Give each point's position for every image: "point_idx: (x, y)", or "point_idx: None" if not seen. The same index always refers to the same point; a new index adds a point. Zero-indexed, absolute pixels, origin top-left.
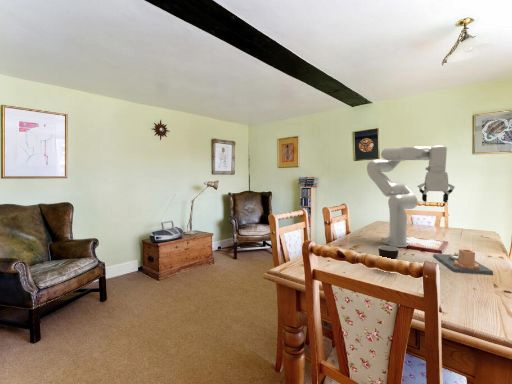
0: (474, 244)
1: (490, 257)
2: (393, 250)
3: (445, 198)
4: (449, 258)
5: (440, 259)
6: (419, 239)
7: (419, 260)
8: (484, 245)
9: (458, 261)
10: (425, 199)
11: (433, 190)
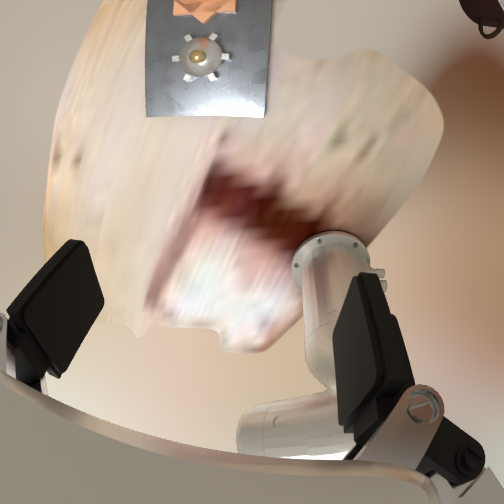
0: None
1: (78, 147)
2: (495, 6)
3: (58, 281)
4: (229, 53)
5: (268, 48)
6: (219, 323)
7: (347, 62)
8: None
9: (223, 1)
10: (380, 296)
11: (253, 474)
